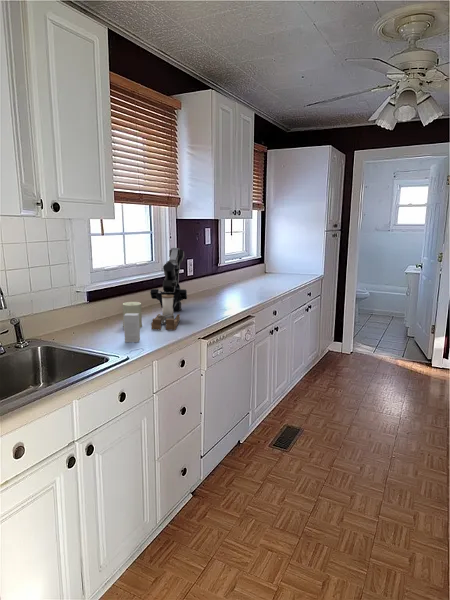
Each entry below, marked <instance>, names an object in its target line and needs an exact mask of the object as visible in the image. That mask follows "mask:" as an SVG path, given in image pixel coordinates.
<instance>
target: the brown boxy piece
mask: <svg viewBox="0 0 450 600" xmlns="http://www.w3.org/2000/svg"><path fill="white" fill-rule="evenodd" d="M158 315H162V314H161V313H157V315H156V316H155V318H152V322H151V326H150V328H151V330H152V329H157V330H158V329H159V330H162V324H161V319H159V318H158ZM180 321H181V314H180V313H179V314H178V313H177V314H176V317H174V319H166V324H165V330H166V331H167V330H169V331H175V330H176V329H177V327H178V324H179V322H180Z"/></svg>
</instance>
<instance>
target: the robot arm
mask: <svg viewBox="0 0 450 600" xmlns="http://www.w3.org/2000/svg"><path fill="white" fill-rule="evenodd" d="M168 254H169V255H168V257H169V260H168V261H166V263H164V264H163V266H162V269H163V274H164V277H165V279H164V280H163V279H162V281H163V282H162V290H160V289H159V288H152V289H150V291H149V293H150V298H151V299H152V300H155V299H156V300H157V301H159V304H160V308H161V309H162V295H163V294H173V295H174V297H173V312H179V311H182V301H183V300H187V299H188V291H187V289H185V288H184V289H181V286H180V284H179V281H180V280H179V279H180V270H181V268H180V266H181V264H182V263H183V261H184V258H185V251H184V250H183V249H181V248H179V247H171V248H170V250H169V251H168Z"/></svg>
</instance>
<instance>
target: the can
mask: <svg viewBox="0 0 450 600" xmlns="http://www.w3.org/2000/svg"><path fill="white" fill-rule="evenodd" d="M126 313H139V327H140V328H142V327H143V322H142V320H143V319H142V318H143V315H142V303H141V302H139V301H128V302H127V301H126V302H123V303H122V322H123V323H122V324H123V325H122V327H123V328H124V315H125V314H126Z"/></svg>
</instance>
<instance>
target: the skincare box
mask: <svg viewBox="0 0 450 600" xmlns="http://www.w3.org/2000/svg"><path fill="white" fill-rule="evenodd" d="M140 329H141V327H139V313H126V314H125V315H124V327H123V330H124V342H125V343H139V342H140V340H141V333H140V332H141V331H140Z"/></svg>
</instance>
